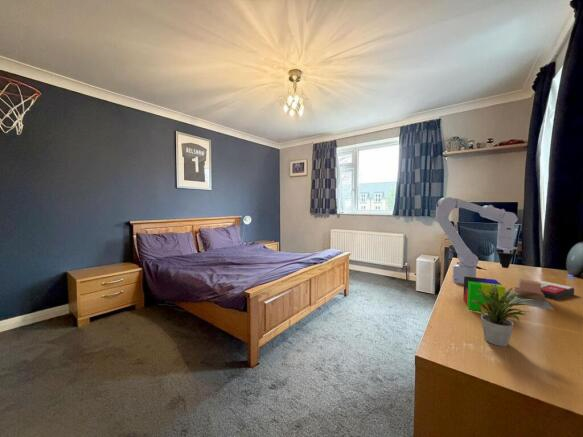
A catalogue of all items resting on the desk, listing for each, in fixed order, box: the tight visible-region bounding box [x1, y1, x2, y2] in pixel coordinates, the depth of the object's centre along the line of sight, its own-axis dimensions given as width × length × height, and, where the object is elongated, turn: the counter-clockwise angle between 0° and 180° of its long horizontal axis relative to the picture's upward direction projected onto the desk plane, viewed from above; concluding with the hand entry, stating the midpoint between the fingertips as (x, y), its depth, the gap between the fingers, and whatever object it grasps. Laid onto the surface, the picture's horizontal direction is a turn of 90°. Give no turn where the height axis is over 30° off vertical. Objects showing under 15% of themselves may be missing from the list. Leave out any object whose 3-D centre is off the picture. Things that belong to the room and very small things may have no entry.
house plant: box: [472, 283, 534, 347], centre depth 67 cm, size 14×14×16 cm
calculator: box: [537, 280, 575, 301], centre depth 105 cm, size 11×4×15 cm
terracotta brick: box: [518, 278, 541, 294], centre depth 100 cm, size 6×4×4 cm, turn 53°
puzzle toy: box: [462, 276, 506, 313], centre depth 91 cm, size 10×10×10 cm
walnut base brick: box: [514, 286, 546, 301], centre depth 100 cm, size 8×6×2 cm
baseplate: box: [505, 290, 555, 311], centre depth 100 cm, size 20×16×1 cm
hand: (504, 266), depth 114 cm, fingers open, 7 cm apart
